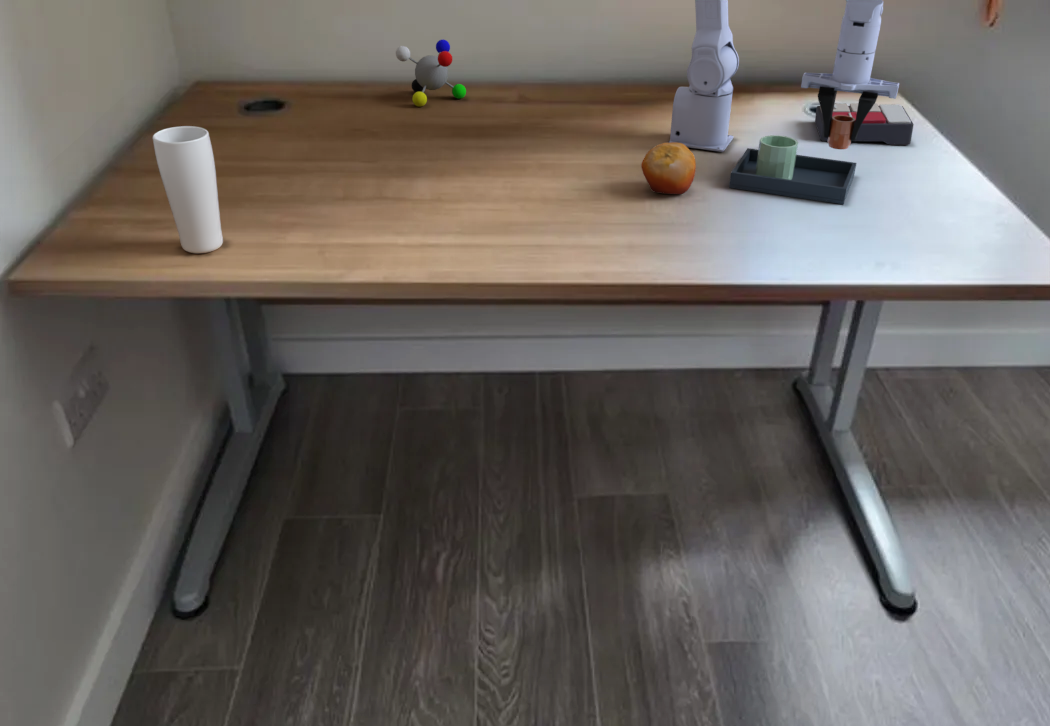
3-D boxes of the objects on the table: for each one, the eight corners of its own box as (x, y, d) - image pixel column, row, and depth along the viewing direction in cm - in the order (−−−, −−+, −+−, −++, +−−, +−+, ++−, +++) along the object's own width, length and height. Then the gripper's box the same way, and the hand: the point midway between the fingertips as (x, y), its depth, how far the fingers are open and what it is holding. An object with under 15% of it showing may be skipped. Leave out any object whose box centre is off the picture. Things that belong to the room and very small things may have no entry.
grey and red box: (816, 101, 175) (903, 100, 173) (814, 125, 177) (899, 125, 175) (823, 119, 166) (915, 119, 164) (820, 144, 168) (910, 145, 166)
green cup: (752, 179, 150) (756, 144, 147) (759, 167, 155) (764, 133, 152) (789, 184, 149) (794, 149, 146) (795, 172, 153) (800, 138, 150)
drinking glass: (182, 236, 131) (159, 125, 123) (234, 235, 132) (214, 125, 123) (170, 258, 126) (145, 143, 117) (224, 256, 126) (202, 142, 118)
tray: (728, 187, 149) (730, 172, 148) (745, 162, 158) (747, 148, 157) (843, 204, 144) (846, 189, 143) (853, 177, 153) (856, 162, 152)
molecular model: (389, 104, 182) (385, 49, 177) (422, 87, 192) (419, 34, 186) (443, 112, 179) (441, 57, 173) (474, 94, 188) (473, 41, 183)
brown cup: (825, 148, 157) (830, 120, 154) (828, 141, 159) (833, 113, 157) (848, 151, 156) (853, 123, 153) (851, 144, 158) (856, 116, 156)
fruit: (702, 171, 150) (701, 135, 143) (690, 212, 147) (688, 178, 140) (651, 165, 153) (647, 129, 145) (638, 205, 149) (634, 170, 142)
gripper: (804, 50, 148) (790, 138, 156) (903, 61, 144) (883, 151, 151) (811, 40, 154) (797, 126, 161) (906, 50, 149) (888, 137, 157)
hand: (839, 137), depth 157 cm, fingers closed on brown cup, 3 cm apart
